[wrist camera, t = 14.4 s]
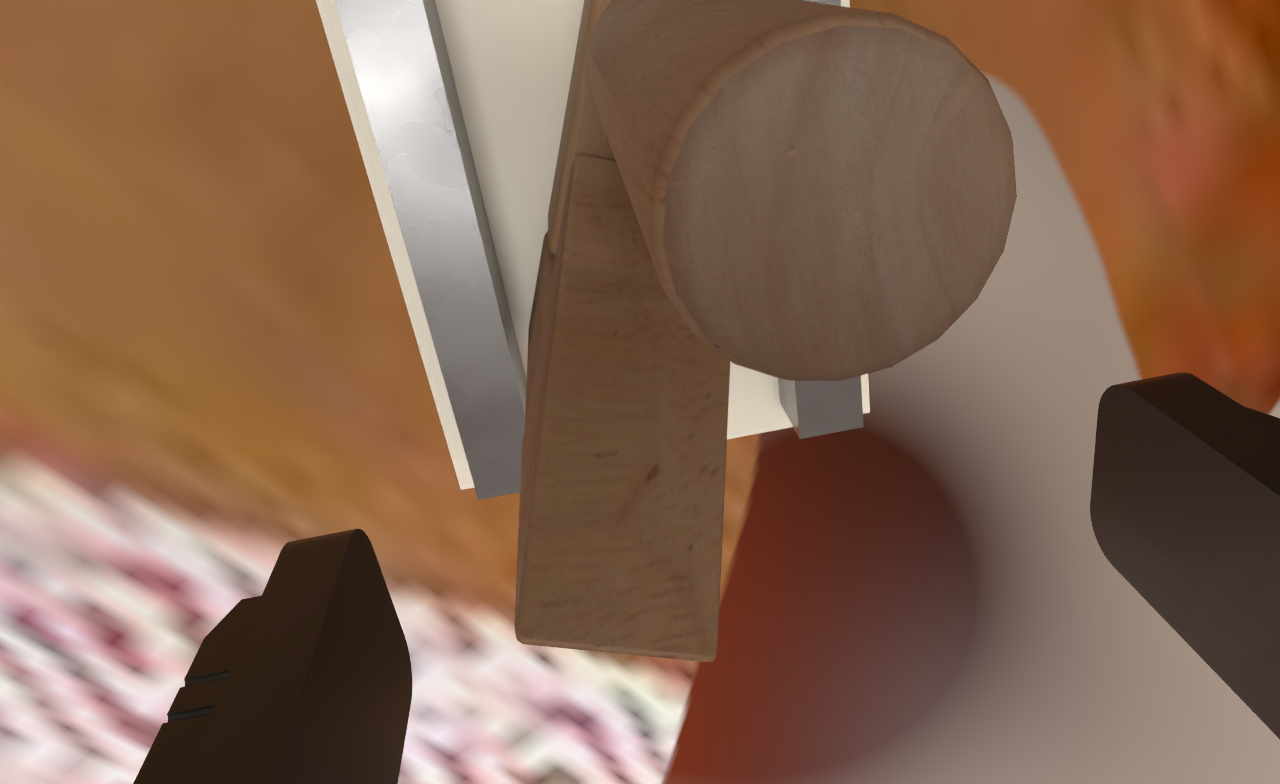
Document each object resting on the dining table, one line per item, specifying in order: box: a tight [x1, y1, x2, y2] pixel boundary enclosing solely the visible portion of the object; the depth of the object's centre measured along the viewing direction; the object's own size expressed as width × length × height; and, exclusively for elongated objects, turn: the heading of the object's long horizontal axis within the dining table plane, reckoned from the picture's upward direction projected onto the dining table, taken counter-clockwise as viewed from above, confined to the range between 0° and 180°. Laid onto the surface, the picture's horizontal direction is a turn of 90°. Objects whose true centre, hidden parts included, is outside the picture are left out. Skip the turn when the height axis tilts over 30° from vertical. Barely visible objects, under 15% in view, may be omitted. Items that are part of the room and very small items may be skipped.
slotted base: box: [316, 0, 870, 500], centre depth 25 cm, size 14×19×4 cm
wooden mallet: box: [515, 0, 1017, 662], centre depth 18 cm, size 4×11×18 cm, turn 168°
